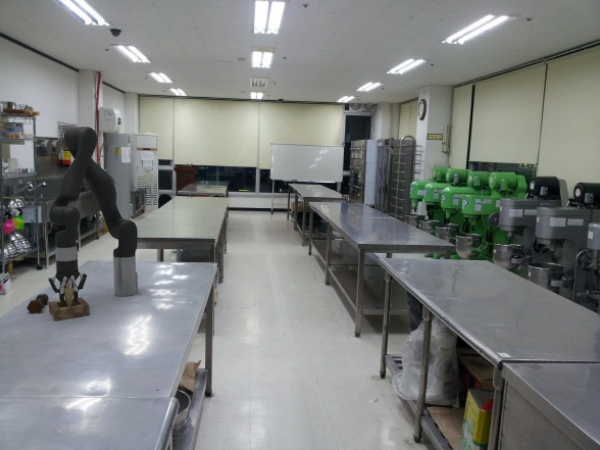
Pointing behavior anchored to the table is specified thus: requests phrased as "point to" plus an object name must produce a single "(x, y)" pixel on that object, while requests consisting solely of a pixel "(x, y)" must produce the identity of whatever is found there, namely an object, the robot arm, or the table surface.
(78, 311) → the wooden square frame
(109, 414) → the table surface
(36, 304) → the bolt
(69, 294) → the ice cream cone
